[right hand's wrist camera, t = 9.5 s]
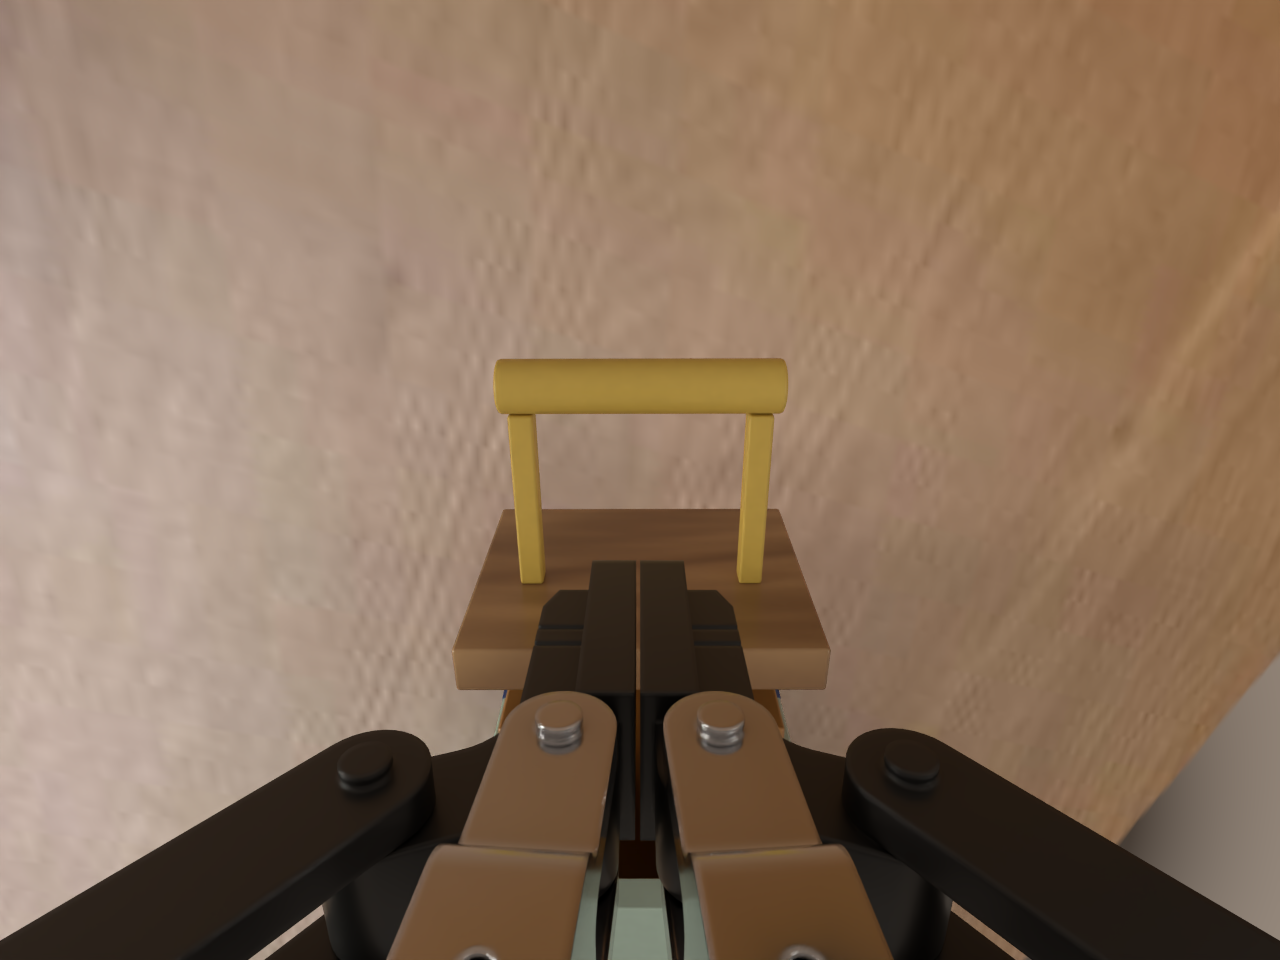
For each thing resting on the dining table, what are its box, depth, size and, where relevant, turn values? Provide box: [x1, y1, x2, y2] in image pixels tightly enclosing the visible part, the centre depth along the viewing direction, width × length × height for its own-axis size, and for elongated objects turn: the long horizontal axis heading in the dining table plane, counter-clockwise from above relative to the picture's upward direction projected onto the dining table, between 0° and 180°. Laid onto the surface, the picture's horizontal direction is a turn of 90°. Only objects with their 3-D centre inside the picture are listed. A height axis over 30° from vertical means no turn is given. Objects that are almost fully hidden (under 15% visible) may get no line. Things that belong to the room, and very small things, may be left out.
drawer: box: [452, 358, 831, 879], centre depth 23 cm, size 26×9×7 cm, turn 0°
